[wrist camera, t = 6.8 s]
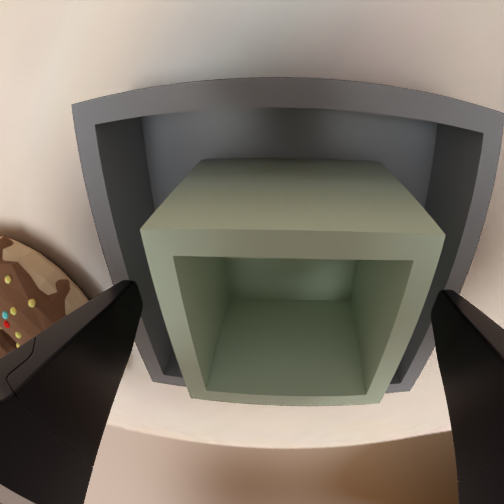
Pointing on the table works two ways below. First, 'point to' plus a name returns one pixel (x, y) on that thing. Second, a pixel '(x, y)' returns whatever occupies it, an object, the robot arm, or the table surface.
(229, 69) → the table surface
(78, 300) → the donut
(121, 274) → the big crate
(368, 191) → the small crate
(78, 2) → the table surface
